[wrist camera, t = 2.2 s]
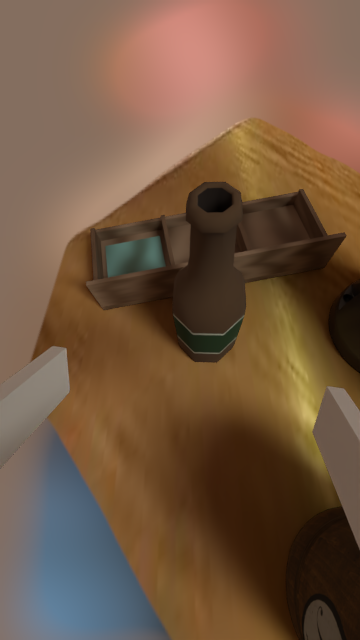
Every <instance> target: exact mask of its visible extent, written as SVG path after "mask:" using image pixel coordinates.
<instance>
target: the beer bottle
mask: <svg viewBox="0 0 360 640" xmlns="http://www.w3.org/2000/svg"><path fill="white" fill-rule="evenodd" d="M242 220H243V210H242V199H241V193H240V191H238V190H237V189H235V188H233V187H232V186H230V185H229V184H227V183H226V182H204V183H203V184H201V185H200V186H199V187H197V188H196V189H194V190H193V191H192V192H190V193H189V196H188V200H187V204H186V221H187V222H188V223H190V224H191V230H190V256H189V261H188V265H187V266H185V267H184V268H183V269H182V270H180V271H179V272H178V273H177V275H176V277H175V279H174V290H173V317H174V322H175V327H176V332H177V336H178V341H179V345H180V347H181V348H182V349H183V350H184V351H185V352H186V353H187V354H188V355H189V356H190V357H191V358H192V359H193V360H194V361H195V362H218V361H219V360H220V359H221V358H222V357H223V356H224V355H225V354H226V353H227V352H228V351H230V350H231V349H232V347H233V346H234V344H235V341H236V338H237V335H238V332H239V329H240V326H241V324H242V321H243V318H244V315H245V309H246V295H245V279H244V277H243V275H242V272H240V271H239V270H238V269H237V268H235V267H234V266H233V264H234V253H235V242H236V231H237V224H238V223H240V222H241V221H242Z"/></svg>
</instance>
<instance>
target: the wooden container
mask: <svg viewBox="0 0 360 640" xmlns="http://www.w3.org/2000/svg"><path fill="white" fill-rule="evenodd" d="M286 592H287V600H288V606H289V611H290V615H291V619H292V622H293V625H294V628H295V630H296V633H297V635H298V638H299V640H360V549H359V547H358V544H357V542H356V539H355V537H354V534H353V532H352V529H351V527H350V524H349V522H348V519H347V517H346V514H345V512H344V509H343V507H337V508H332V509H328V510H325V511H323V512H321V513H319V514H317V515H316V516H314V517H313V518H312V519H311V520H309V521H308V522H307V523H306V524H305V525H304V527H303V528H302V529H301V530H300V532H299V534H298V535H297V537H296V539H295V541H294V543H293V545H292V548H291V551H290V554H289V558H288V563H287V571H286Z"/></svg>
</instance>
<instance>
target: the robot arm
mask: <svg viewBox="0 0 360 640" xmlns="http://www.w3.org/2000/svg"><path fill="white" fill-rule="evenodd" d="M329 329H330V334H331V337H332V339H333V342H334V344H335V346H336V348H337V349H338V351H339V352H340V354H341V355H342V356H343V358H344V359H345V360H346V361H347V362H348V363H349V364H350V365H351V366H352V367H353V368H355V369H356V370H357V371H358V372H360V279H359V280H357V281H356V282H354V283H352V284H351V285H350V286H348V287H347V288H346V289H345V290H344V291H343V292H342V293H341V294H340V295H339V296H338V297H337V299H336V300H335V301H334V303H333V305H332V307H331V310H330V314H329ZM69 392H70V386H69V375H68V363H67V351H66V348H63V347H56V346H52V347H51V348H49V349H48V350H47V351H45V352H44V353H43V354H41V355H40V356H39V357H37V358H36V359H34V360H33V361H32V362H30V363H29V364H28V365H26V366H25V367H24V368H22V369H21V370H20V371H18V372H17V373H15V374H14V375H13V376H11V377H10V378H9V379H7V380H6V381H5V382H3V383H2V384H1V385H0V468H1V467H2V466H3V465H4V464H5V463H6V462H7V461H8V460H9V459H10V458H11V456H12V455H13V454H14V453H15V452H16V451H17V450H18V449H19V448H20V446H21V445H22V444H23V443H24V442H25V441H26V440H27V439H28V437H29V436H30V435H31V434H32V433H33V432H34V431H35V430H36V429H37V427H38V426H39V425H40V424H41V423H42V422H43V421H44V420H45V419H46V418H47V416H48V415H49V414H50V413H51V412H52V411H53V410H54V409H55V408H56V407H57V405H58V404H59V403H60V402H61V401H62V400H63V399H64V398H65V397H66V395H67V394H68V393H69ZM313 435H314V437H315V440H316V442H317V445H318V447H319V450H320V452H321V455H322V457H323V460H324V462H325V464H326V467H327V469H328V472H329V474H330V477H331V479H332V482H333V484H334V487H335V489H336V492H337V494H338V497H339V499H340V502H341V504H342V507H343V509H344V512H345V514H346V517H347V519H348V522H349V524H350V527H351V529H352V532H353V534H354V537H355V539H356V542H357V544H358V547H359V549H360V411H359V409H358V408H357V407H356V405H355V404H354V402H353V401H352V399H351V398H350V396H349V395H348V393H347V392H346V391H345V389H343V388H337V387H330V386H327V387H326V391H325V394H324V397H323V400H322V403H321V406H320V410H319V413H318V416H317V419H316V422H315V426H314V429H313Z"/></svg>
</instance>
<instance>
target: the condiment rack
mask: <svg viewBox="0 0 360 640" xmlns="http://www.w3.org/2000/svg"><path fill="white" fill-rule="evenodd" d="M242 210H243V220H242V221H241V222H240V223H238V224H237V231H236V242H235V253H234V264H233V266H234V267H235V268H237V269H238V270H239V271H240V272H242V275H243V277H244V279H245V283H247V282H253V281H258V280H263V279H268V278H273V277H279V276H284V275H289V274H294V273H299V272H304V271H310V270H315V269H320V268H324V267H325V266H326V264H327V263H328V261H329V260H330V258H331V257H332V256H333V254H334V253H335V251H336V250H337V249H338V247H339V246H340V244H341V243H342V242H343V240H344V239H345V237H346V234H345V232H344V233H339V234H333V235H327V233H326V231H325V229H324V228H323V226H322V224H321V222H320V220H319V218H318V216H317V214H316V212H315V211H314V209H313V207H312V205H311V203H310V201H309V199H308V197H307V195H306V194H305V192H304V190H303V189H300V190H299V192H295V193H289V194H284V195H279V196H273V197H268V198H263V199H257V200H252V201H247V202H242ZM190 230H191V224H190V223H188V222H187V221H186V213H183V214H178V215H172V216H167V217H165V215H161V218H156V219H151V220H146V221H140V222H135V223H130V224H124V225H119V226H114V227H108V228H103V229H98V230H95V229H94V228H92V229H91V246H92V263H93V281H87V282H86V286H87V287H88V289H89V290H90V292H91V293H92V294H93V296H94V297H95V299H96V300H97V301H98V303H99V304H100V306H101V307H102V308H103V310H108V309H113V308H118V307H123V306H128V305H133V304H139V303H144V302H149V301H154V300H159V299H165V298H170V297H173V290H174V279H175V277H176V275H177V273H178V272H179V271H180V270H182V269H183V268H184V267H185V266H187V265H188V261H189V256H190Z"/></svg>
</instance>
